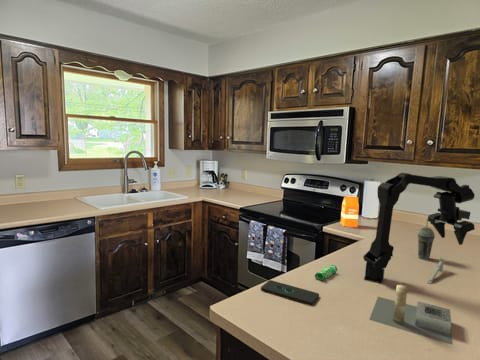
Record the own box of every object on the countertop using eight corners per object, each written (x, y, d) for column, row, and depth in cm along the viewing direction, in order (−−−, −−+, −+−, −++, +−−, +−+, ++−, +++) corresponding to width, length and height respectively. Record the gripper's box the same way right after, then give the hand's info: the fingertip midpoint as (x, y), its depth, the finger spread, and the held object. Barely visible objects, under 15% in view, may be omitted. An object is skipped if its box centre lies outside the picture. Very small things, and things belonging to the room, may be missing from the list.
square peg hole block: (414, 325, 98) (416, 313, 97) (416, 312, 105) (417, 301, 105) (449, 335, 93) (451, 322, 93) (448, 321, 101) (449, 309, 100)
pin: (392, 322, 99) (396, 287, 98) (393, 317, 102) (397, 283, 100) (403, 325, 98) (407, 290, 96) (404, 320, 100) (407, 286, 99)
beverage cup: (433, 258, 157) (438, 219, 154) (430, 262, 151) (434, 221, 149) (417, 254, 162) (421, 216, 159) (413, 258, 156) (417, 218, 154)
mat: (369, 320, 100) (369, 319, 100) (377, 297, 116) (377, 296, 116) (452, 345, 89) (452, 344, 89) (449, 315, 104) (449, 315, 104)
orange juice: (357, 227, 210) (359, 197, 207) (343, 227, 210) (346, 197, 207) (353, 224, 217) (355, 195, 215) (340, 224, 217) (342, 195, 215)
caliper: (439, 269, 143) (441, 256, 143) (442, 270, 143) (444, 257, 142) (427, 283, 129) (429, 268, 128) (430, 284, 128) (432, 269, 127)
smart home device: (269, 279, 125) (319, 293, 115) (269, 283, 125) (319, 297, 115) (260, 287, 118) (312, 302, 108) (259, 291, 118) (312, 307, 108)
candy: (324, 280, 126) (319, 270, 128) (317, 282, 129) (313, 272, 130) (339, 272, 135) (334, 263, 136) (332, 274, 137) (328, 265, 138)
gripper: (485, 206, 124) (488, 243, 126) (447, 197, 142) (451, 229, 145) (459, 213, 122) (463, 250, 125) (425, 203, 141) (429, 236, 143)
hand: (451, 241), depth 134 cm, fingers open, 9 cm apart
